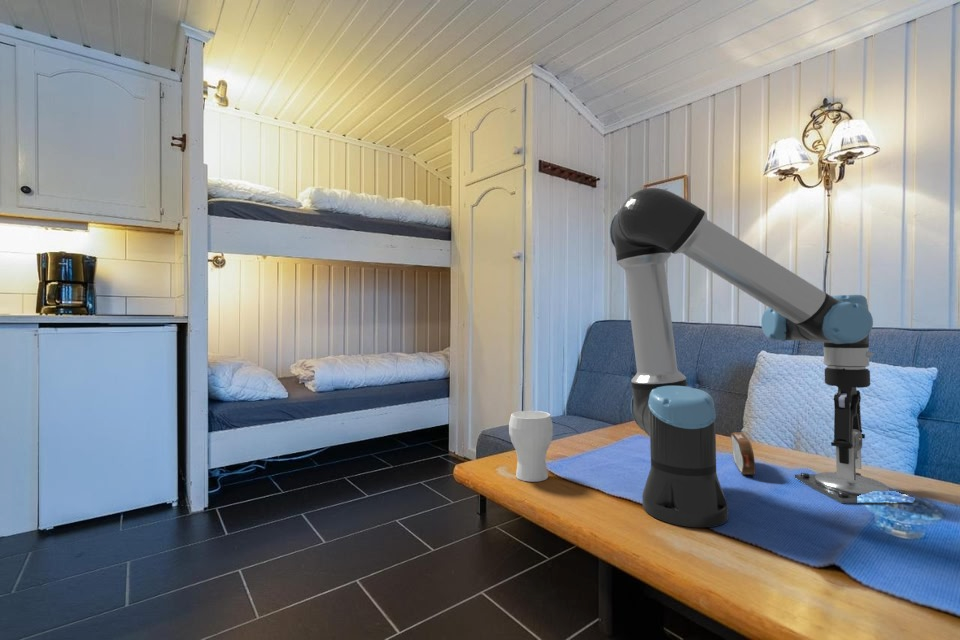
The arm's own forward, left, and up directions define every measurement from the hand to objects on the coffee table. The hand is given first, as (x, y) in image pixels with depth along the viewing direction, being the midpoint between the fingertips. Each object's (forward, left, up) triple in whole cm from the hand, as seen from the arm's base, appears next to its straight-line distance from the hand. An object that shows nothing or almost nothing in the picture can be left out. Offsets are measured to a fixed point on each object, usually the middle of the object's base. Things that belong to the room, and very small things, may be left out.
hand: (849, 472), depth 95 cm
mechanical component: (0, 0, -1) cm, 1 cm away
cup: (-67, +10, -4) cm, 68 cm away
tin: (-15, +14, -4) cm, 21 cm away
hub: (0, 0, -4) cm, 4 cm away
